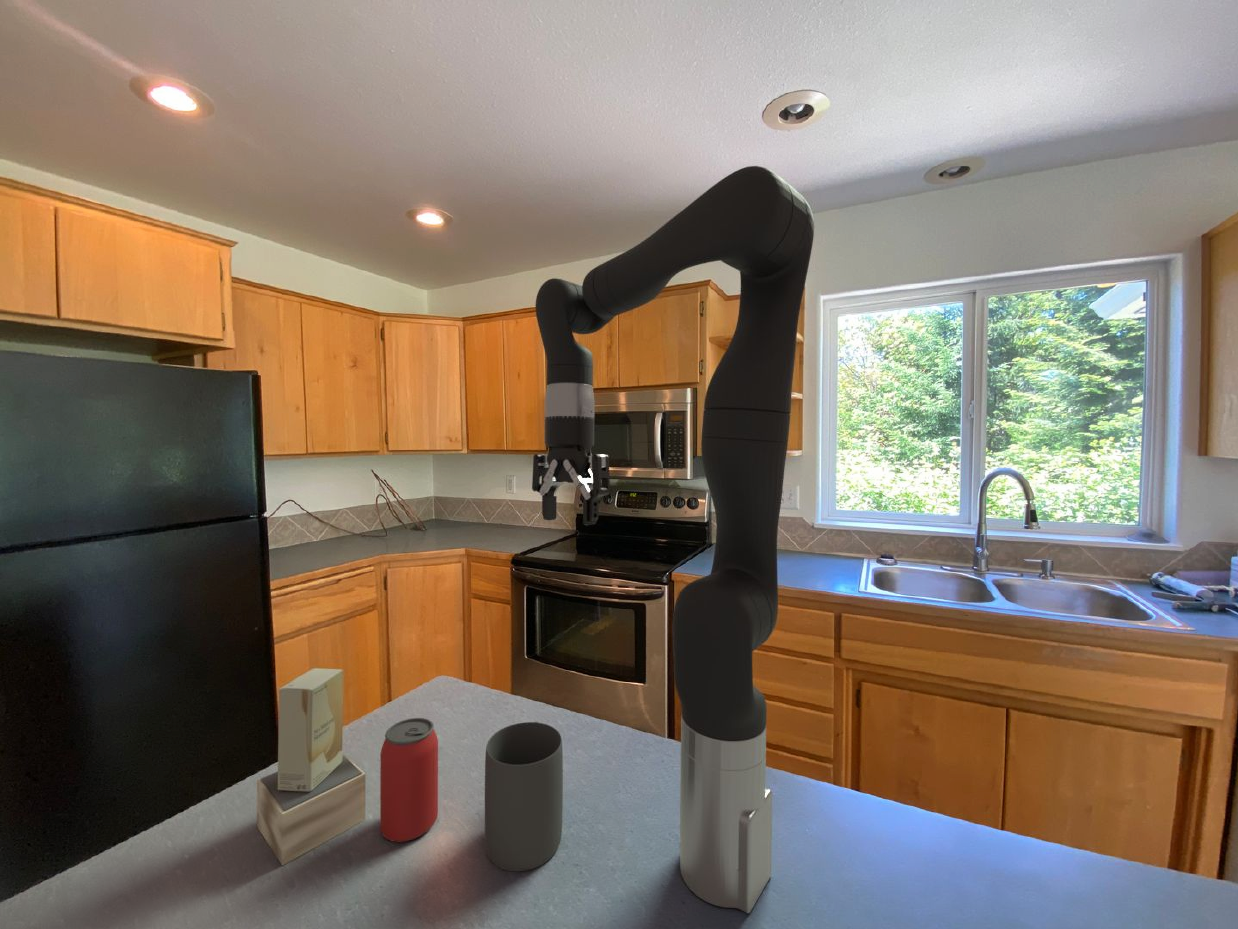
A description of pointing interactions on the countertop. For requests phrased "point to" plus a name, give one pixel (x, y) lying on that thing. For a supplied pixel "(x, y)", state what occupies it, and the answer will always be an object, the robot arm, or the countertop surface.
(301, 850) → the birch plinth
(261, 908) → the countertop surface
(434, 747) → the beer can
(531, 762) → the mug
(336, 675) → the skincare box
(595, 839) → the countertop surface
